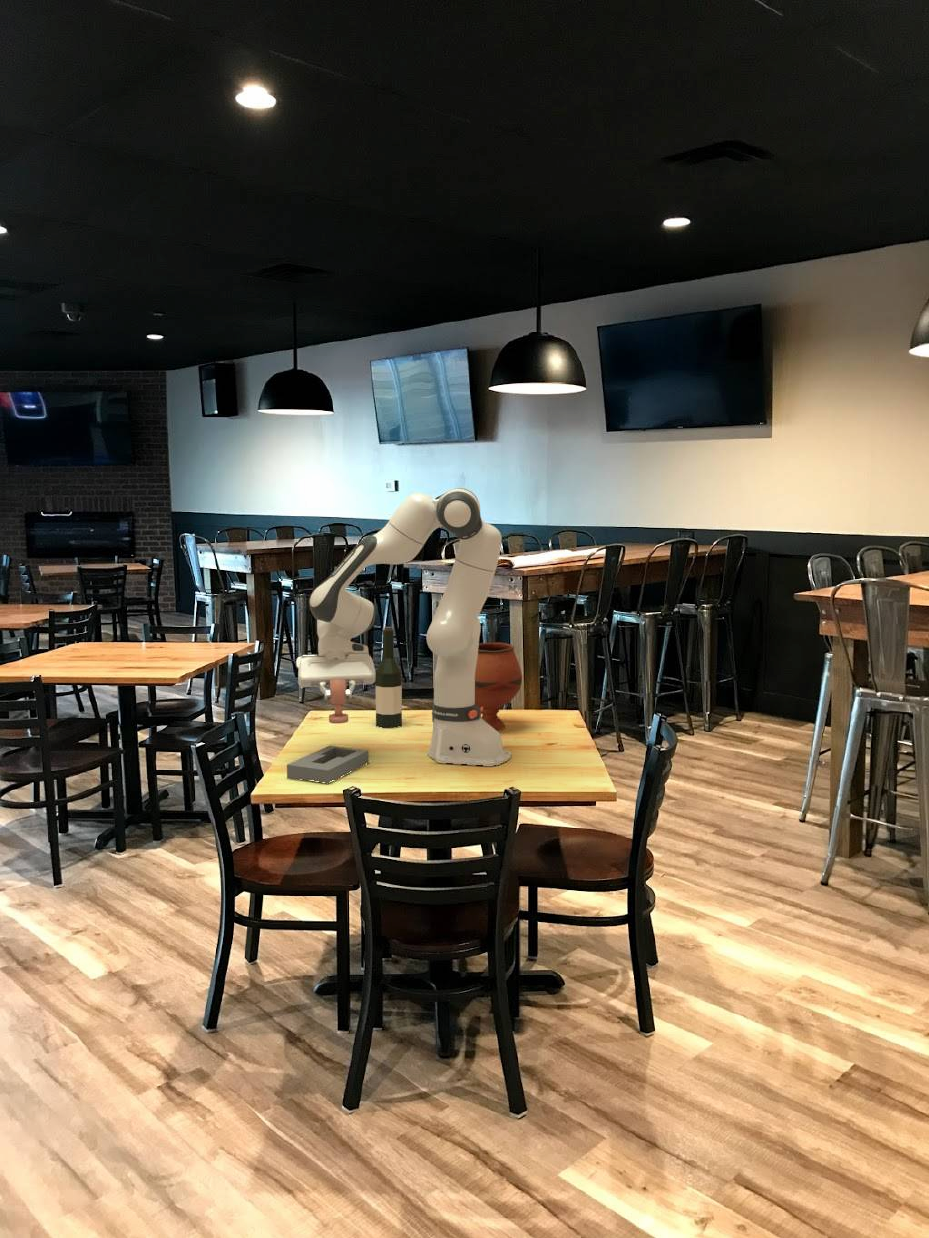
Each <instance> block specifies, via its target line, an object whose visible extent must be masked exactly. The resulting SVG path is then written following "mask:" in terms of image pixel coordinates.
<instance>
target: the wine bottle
mask: <svg viewBox="0 0 929 1238" xmlns="http://www.w3.org/2000/svg"><path fill="white" fill-rule="evenodd" d="M394 632H395V631H394V629H393V627H392V626H384V627H383V630H382V659H381V660H380V663H379V664H378V666H377V668H376V669H375V674H376V678H375V682H374V683H375V727H377V726H379V727H378V728H380V727H382V728H381V729H395V728H394V727H396V728H399V727H398V726H400V727H402V726H403V702H402V701H403V700H402V699H403V697H402V696H403V695H402V693H403V691H402V688H403V685H402V684H403V683H402V681H403V680H402V677H403V676H402V672H403V671H402V668H401V667H400V665H399V664H398V661H397V660H396V658H395V657H394V656H395V654H394V653H395V651H394V650H395V648H394V636H395V635H394Z"/></svg>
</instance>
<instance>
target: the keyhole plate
mask: <svg viewBox="0 0 929 1238" xmlns="http://www.w3.org/2000/svg"><path fill="white" fill-rule="evenodd" d="M369 753H370V752H369V750H366V749H358V748H353V747H345V746H344V747H343V746H336V745H327V746H325V747H323V748H320V749H319V750H317V751H314V752H311V753H310V754H308V755H305V756H303V757H301V758H299V759H296V760H294V761H291V762H290V763H288V764H286V779H288V778H294V779H293V780H295V779H302V780H314V781H319V782H325V783H329V782H330V781H332V780H336V779H338V778H340V777H341V776H343V775H345V774H347V773H349V772H350V771H353V772H354V770H355V771H357V770H358V769H357V768H359V769H360V767H361V766H363V765H365V764H366V763H368V762H369V761H370V760H369V755H370V754H369ZM369 763H370V762H369ZM365 766H366V765H365ZM363 767H364V766H363ZM361 768H362V767H361ZM356 769H357V770H356ZM349 774H350V773H349ZM347 775H348V774H347ZM345 776H346V775H345ZM343 777H344V776H343ZM340 779H341V778H340ZM302 780H301V781H302ZM338 780H339V779H338ZM336 781H337V780H336Z"/></svg>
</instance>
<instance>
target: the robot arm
mask: <svg viewBox="0 0 929 1238" xmlns="http://www.w3.org/2000/svg"><path fill="white" fill-rule="evenodd" d="M399 505H400V506H398V508H397V509H396V510H395V512H394V513H393V514H392V516H391V517H390V519H389V520H388V522H387V523H386V525H384V527H382V529H380V530H379V531H377V533H375V534H373V535H369V536H366V537H364V538H362V540H360V541H359V543H358V544H356V545H355V547H353V549H352V550H351V551H350V552H349V553H348V554H347V556H345V558H344V559H343V560H342V561H341V562H340V563H339V564H338V566H336V568H335V569H334V570H333V571H332V573H331V574H330V575H329V576H328V577H327V578H326V579H325V580H323V581H321V583H320V584H319V585H318V586H316V587H315V588H314V590H313V591H312V592H311V594H310V597H309V599H308V605H309V610H310V612H311V614H312V616H313V617H314V619H315V620H316V629H317V630H316V634H317V636H318V642H317V651H318V654H317V653H316V654H302V655H301V656H299V657H297V658H296V661H295V666H296V668H297V669H298V672H297V674H298V675H297V676H298V677H297V684H298V686H300V687H301V688H316V687H318V688H319V690H320V691H321V693H322V694H323V695H324V700H330V699H331V694H330V689H328V690H327V688H326V687H330V679H337V678H343V679H345V680H346V686H349V689H346V699H352V693H353V691H354V690H355V688H356V686H364V685H366V686H368V685H373V684H374V683H376V682H375V678H376V674H375V672H376V669H375V663H374V661H373V657H371V655H370V653H369V647H368V645H365V644H362V643H357V642H354V641H351V640H352V639H355V638H357V637H360V636H361V635H363V634H365V633H366V632H368V631H370V629H372V627H373V626H374V623H375V619H376V609H375V605H374V603H373V602H372V601H370V600H369V599H366V598H364V597H362V596H360V595H358V594H355V593H353V592H350V591H349V590H346V589H347V588H348V587H349V585H351V583H352V582H353V581H354V579H356V578H357V576H359V575H360V573H361V572H362V571H363V570H364V569H366V568H367V567H369V566H373V565H381V564H384V565H385V564H386V565H402V564H406V563H409V562H410V561H412V560H414V558H416V556H417V555H418V554H419V553H420V551H421V550H422V549H423V547H424V546H425V544H426V542H427V540H428V539H429V537H431V535H432V533H433V532H434V531H436V530H437V529H438V528H442V527H443V528H444V529H445V530H446V531H448V532H449V533H451V534H452V535H454V536H455V537H456V538H457V539H459V546H458V550H457V552H456V555H455V559H454V562H453V566H452V569H451V572H450V576H449V578H448V582H447V584H446V588H445V590H444V592H443V595H442V596H441V599H440V601H439V603H438V605H437V608H436V611H435V613H434V616H433V618H432V621H431V623H430V625H429V627H428V630H427V632H426V644H427V646H428V648H429V649H430V651H431V652H432V653H433V654H435V655H436V656H437V661H436V667H435V670H434V674H433V703H432V706H431V707H432V709H431V717H432V725H433V726H432V734H431V741H430V744H429V745H430V746H429V750H428V753H427V755H428V757H430V758H431V759H433V760H435V762H436V763H437V764H446V763H453V764H452V765H461V764H467V765H466V766H476V765H483V766H482V767H495V766H494V765H496V766H499V765H502V764H503V762H504V763H505V761H506V762H507V761H508V760H510V759H511V758H512V753H511V751H510V750H508V749H504V747H503V738H502V735H501V734H500V732H499V730H495V729H494V728H493V727H491V726H490V725H489V724H488V723H487V722H485V721H484V720H483V719H482V718H481V717H482V713H481V711H483V710H482V709H483V707H481V708H479V707H478V706H477V705H476V703H475V671H476V663H477V656H478V647H479V643H480V636H481V630H482V629H481V628H482V626H481V622H480V620H479V616H480V614H481V611H482V609H483V606H484V604H485V603H486V601H487V599H488V596H489V593H490V589H491V586H492V584H493V583H492V582H493V580H494V577H495V574H496V570H497V567H498V563H499V558H500V553H501V548H502V540H503V537H502V533H501V532H500V531H499V529H498V528H497V527H496V526H494V525H492V524H490V523H487V522H485V521H484V520H482V517H481V505H480V501H479V499H478V497H477V495H476V494H474V493H473V492H472V491H471V490H469V489H467V488H463V487H459V488H457V487H456V488H453V489H450V490H448V491H446V492H445V493H443V494H440V495H438V496H437V497H435V498H433V497H431V496H429V495H427V494H424V493H420V492H415V493H411V495H409V496H408V497H407V498H406V499H405V500H404V501H403V502H402V503H401V504H399ZM501 763H502V764H501Z"/></svg>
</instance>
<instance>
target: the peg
mask: <svg viewBox="0 0 929 1238" xmlns="http://www.w3.org/2000/svg"><path fill="white" fill-rule="evenodd" d="M346 688H347V685H346V680H345V679H343V678H337V679H330V686H329V690H330V694H331V699H329V700H330V704H333V705H334V713H332V714H329V715H328V723H330V724H345V723H348V722H349V714H348V713H343V704H345V703H347V698H346V690H347V689H346Z"/></svg>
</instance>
